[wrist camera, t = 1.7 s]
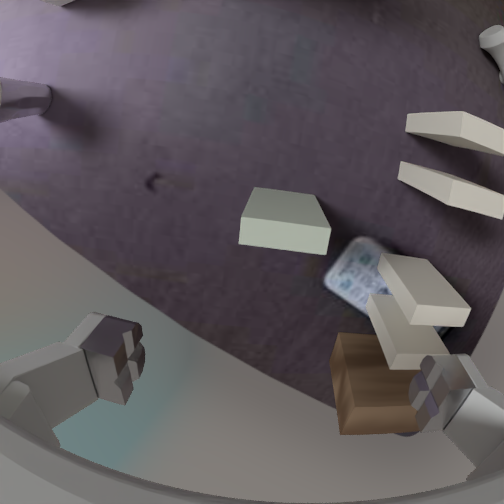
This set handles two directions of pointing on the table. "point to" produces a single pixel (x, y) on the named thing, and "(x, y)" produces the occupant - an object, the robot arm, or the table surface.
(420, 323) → the domino
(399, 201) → the table surface
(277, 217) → the domino
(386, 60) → the table surface
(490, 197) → the domino
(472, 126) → the domino
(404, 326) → the domino
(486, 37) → the smooth white sculpture
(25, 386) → the robot arm
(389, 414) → the end block
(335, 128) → the table surface
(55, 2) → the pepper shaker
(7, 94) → the milkshake
